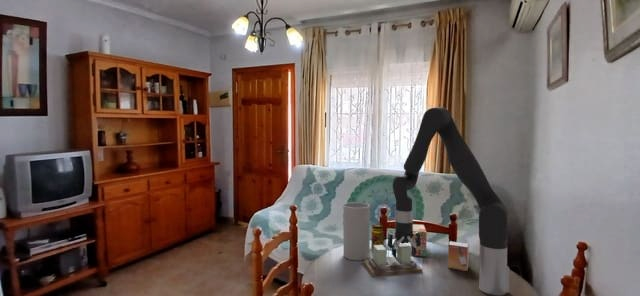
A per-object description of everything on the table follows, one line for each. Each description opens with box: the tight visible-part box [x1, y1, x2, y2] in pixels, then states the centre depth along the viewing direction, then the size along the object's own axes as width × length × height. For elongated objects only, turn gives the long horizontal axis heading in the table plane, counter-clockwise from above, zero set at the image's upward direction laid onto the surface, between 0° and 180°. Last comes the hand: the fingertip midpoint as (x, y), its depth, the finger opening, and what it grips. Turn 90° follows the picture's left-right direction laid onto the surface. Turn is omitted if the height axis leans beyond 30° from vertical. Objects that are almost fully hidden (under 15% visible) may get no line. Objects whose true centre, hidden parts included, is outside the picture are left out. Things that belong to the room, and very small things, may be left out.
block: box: [372, 244, 388, 266], centre depth 147 cm, size 4×6×8 cm, turn 8°
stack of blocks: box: [410, 223, 428, 257], centre depth 172 cm, size 21×6×12 cm, turn 169°
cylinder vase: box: [342, 201, 371, 262], centre depth 161 cm, size 12×12×25 cm
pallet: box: [362, 256, 423, 277], centre depth 148 cm, size 22×14×3 cm, turn 98°
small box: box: [447, 240, 470, 272], centre depth 148 cm, size 8×6×10 cm
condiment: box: [370, 223, 387, 251], centre depth 174 cm, size 7×8×12 cm
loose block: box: [396, 243, 412, 264], centre depth 148 cm, size 4×6×8 cm, turn 8°
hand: (404, 256), depth 148 cm, fingers open, 8 cm apart
